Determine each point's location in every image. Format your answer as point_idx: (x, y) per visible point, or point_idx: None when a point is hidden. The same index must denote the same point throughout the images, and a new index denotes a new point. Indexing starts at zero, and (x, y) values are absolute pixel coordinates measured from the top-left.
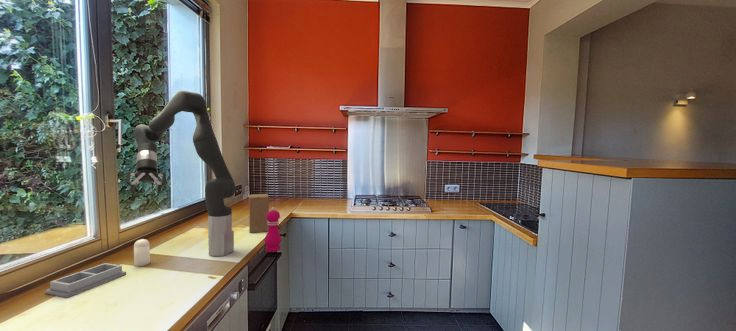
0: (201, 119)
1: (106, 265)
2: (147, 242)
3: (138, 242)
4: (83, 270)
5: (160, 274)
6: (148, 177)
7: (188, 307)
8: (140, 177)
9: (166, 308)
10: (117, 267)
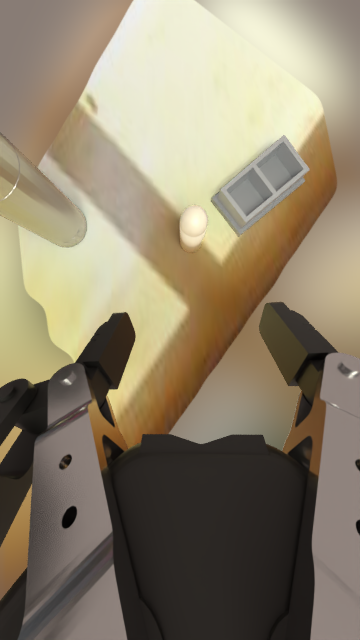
0: None
1: (242, 213)
2: (183, 212)
3: (200, 207)
4: (273, 199)
5: (164, 168)
6: (174, 530)
7: (131, 7)
8: (339, 500)
9: (157, 23)
10: (226, 184)
